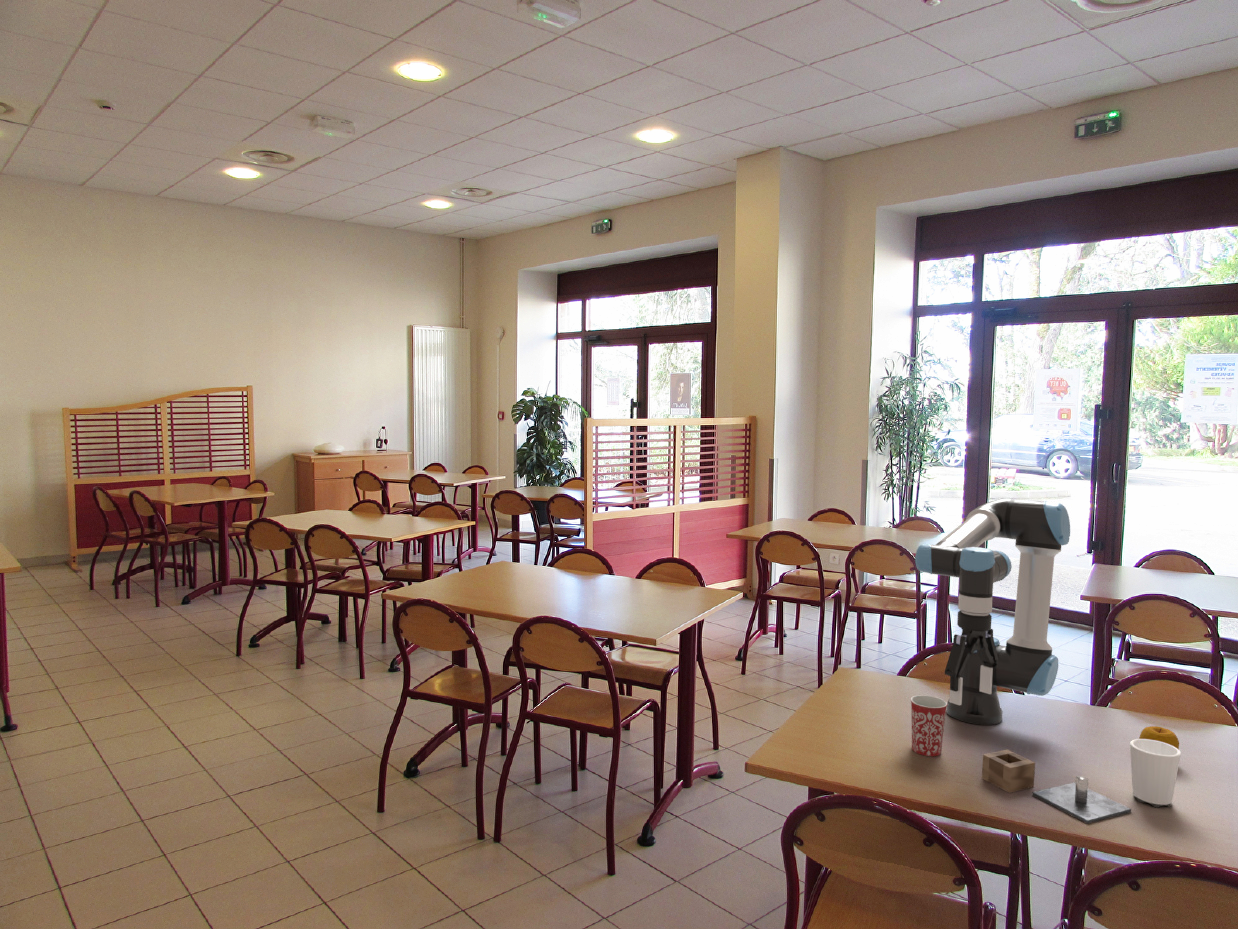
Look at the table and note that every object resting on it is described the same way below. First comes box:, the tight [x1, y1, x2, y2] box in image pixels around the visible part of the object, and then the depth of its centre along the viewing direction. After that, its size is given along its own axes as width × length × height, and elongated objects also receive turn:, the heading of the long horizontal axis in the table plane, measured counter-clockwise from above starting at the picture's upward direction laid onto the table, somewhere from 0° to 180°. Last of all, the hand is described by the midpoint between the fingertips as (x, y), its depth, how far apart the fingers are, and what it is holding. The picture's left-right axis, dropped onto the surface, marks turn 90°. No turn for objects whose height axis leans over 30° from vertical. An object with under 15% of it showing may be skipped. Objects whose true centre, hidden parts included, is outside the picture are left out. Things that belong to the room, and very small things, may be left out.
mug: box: [910, 694, 948, 757], centre depth 215 cm, size 13×9×14 cm
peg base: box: [1032, 775, 1132, 825], centre depth 186 cm, size 14×14×6 cm
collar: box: [981, 749, 1036, 794], centre depth 196 cm, size 8×8×6 cm
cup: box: [1129, 738, 1182, 808], centre depth 188 cm, size 10×10×13 cm
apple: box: [1138, 725, 1180, 750], centre depth 209 cm, size 8×8×9 cm
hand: (970, 698), depth 198 cm, fingers open, 13 cm apart
